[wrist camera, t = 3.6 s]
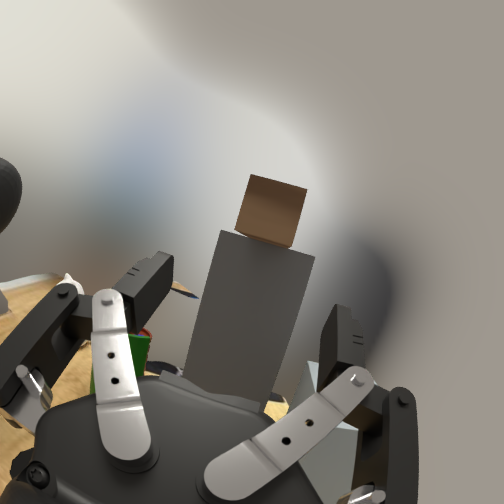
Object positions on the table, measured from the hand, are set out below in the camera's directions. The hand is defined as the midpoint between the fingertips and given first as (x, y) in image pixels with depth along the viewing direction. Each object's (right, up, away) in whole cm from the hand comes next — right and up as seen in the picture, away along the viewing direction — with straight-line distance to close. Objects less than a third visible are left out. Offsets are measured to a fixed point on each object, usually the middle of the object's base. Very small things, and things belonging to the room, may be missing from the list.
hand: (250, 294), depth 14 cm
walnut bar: (+2, +3, +16) cm, 16 cm away
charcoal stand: (-7, -28, +19) cm, 35 cm away
